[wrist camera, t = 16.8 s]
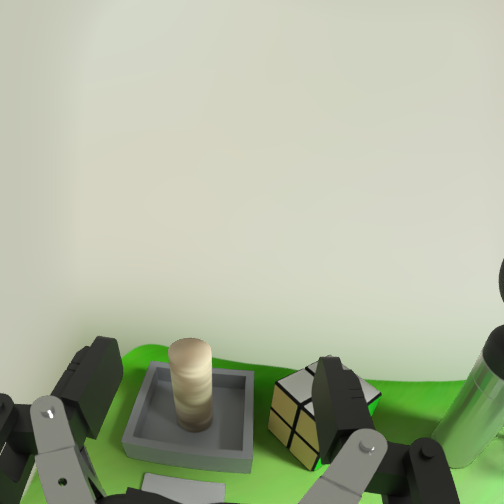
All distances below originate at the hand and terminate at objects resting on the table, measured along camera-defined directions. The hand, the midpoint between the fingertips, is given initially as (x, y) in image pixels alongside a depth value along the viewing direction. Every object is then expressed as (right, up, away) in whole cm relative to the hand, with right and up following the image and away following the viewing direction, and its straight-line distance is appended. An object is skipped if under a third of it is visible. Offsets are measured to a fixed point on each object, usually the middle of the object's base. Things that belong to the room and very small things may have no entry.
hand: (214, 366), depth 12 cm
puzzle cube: (+10, -22, +28) cm, 37 cm away
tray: (-7, -20, +29) cm, 36 cm away
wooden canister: (-7, -19, +28) cm, 35 cm away
